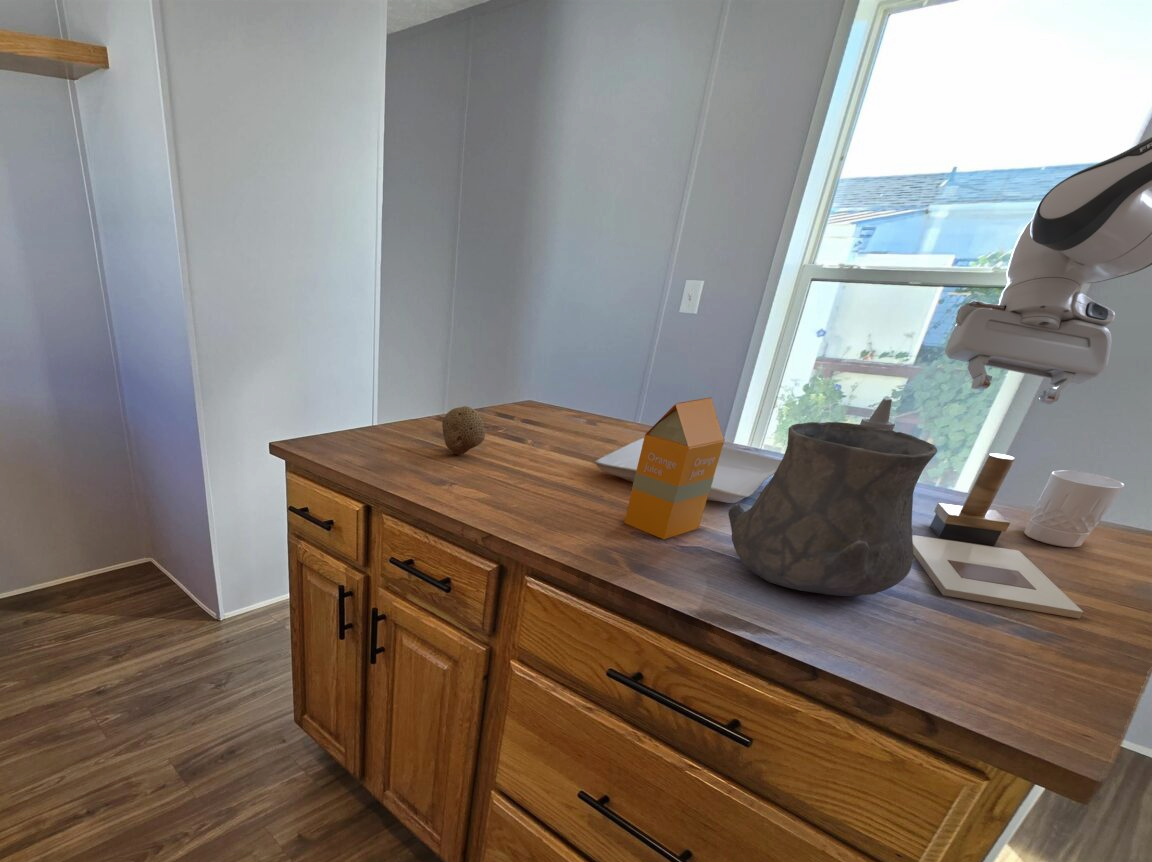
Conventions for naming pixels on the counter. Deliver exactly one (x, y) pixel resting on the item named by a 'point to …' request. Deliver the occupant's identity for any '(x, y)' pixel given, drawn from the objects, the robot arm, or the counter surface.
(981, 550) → the cream rectangular board
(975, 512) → the scrub brush
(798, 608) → the counter surface
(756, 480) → the square plate
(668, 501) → the orange juice
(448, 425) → the natural sponge
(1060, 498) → the white cup
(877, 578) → the vessel
